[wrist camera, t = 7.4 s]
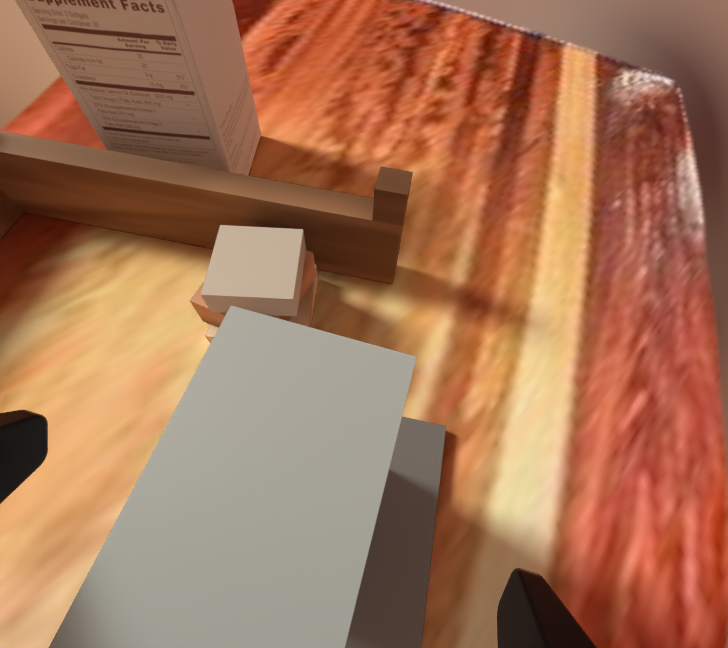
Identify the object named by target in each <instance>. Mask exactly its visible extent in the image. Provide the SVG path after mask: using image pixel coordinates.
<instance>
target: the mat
mask: <svg viewBox="0 0 728 648" xmlns="http://www.w3.org/2000/svg"><path fill="white" fill-rule="evenodd" d="M445 432H446V426H443V425H438V424H434V423H429V422H424V421H420V420H415V419H411V418H406V417H402V418H401V422H400V426H399V430H398V435H397V439H396V443H395V447H394V451H393V455H392V459H391V463H390V467H389V471H388V475H387V479H386V483H385V487H384V491H383V495H382V499H381V503H380V507H379V511H378V515H377V519H376V523H375V527H374V532H373V536H372V540H371V544H370V548H369V552H368V556H367V560H366V564H365V568H364V572H363V576H362V580H361V584H360V588H359V592H358V596H357V600H356V604H355V608H354V612H353V616H352V620H351V624H350V629H349V633H348V637H347V641H346V645H345V648H421V644H422V636H423V627H424V618H425V609H426V600H427V591H428V582H429V574H430V565H431V556H432V547H433V538H434V529H435V520H436V511H437V503H438V494H439V485H440V476H441V467H442V458H443V449H444V440H445Z"/></svg>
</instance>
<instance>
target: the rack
mask: <svg viewBox="0 0 728 648" xmlns="http://www.w3.org/2000/svg"><path fill="white" fill-rule="evenodd" d="M412 173H413V172H409V171H403V170H397V169H392V168H386V167H381V168H380V171H379V175H378V179H377V182H376V186H375V190H374V198H370V197H365V196H359V195H354V194H348V193H343V192H337V191H331V190H326V189H320V188H315V187H309V186H304V185H298V184H293V183H287V182H282V181H276V180H270V179H265V178H259V177H254V176H248V175H243V174H237V173H232V172H226V171H221V170H215V169H210V168H204V167H198V166H193V165H187V164H182V163H176V162H171V161H165V160H160V159H154V158H149V157H143V156H137V155H132V154H126V153H121V152H115V151H110V150H104V149H99V148H93V147H88V146H82V145H76V144H71V143H65V142H60V141H54V140H49V139H43V138H38V137H32V136H27V135H21V134H15V133H10V132H4V131H0V239H1V238H2V237H3V236H4V235H5V234H6V232H7V231H8V230H9V229H10V228H11V226H12V225H13V224H14V223H15V222H16V221H17V219H18V218H19V217H20V216H21V215H22V213H23V212H25V213H31V214H36V215H41V216H46V217H51V218H56V219H61V220H67V221H72V222H77V223H82V224H87V225H92V226H97V227H102V228H108V229H113V230H118V231H123V232H128V233H133V234H138V235H144V236H149V237H154V238H159V239H164V240H169V241H174V242H179V243H185V244H190V245H195V246H200V247H205V248H210V249H214V245H215V242H216V238H217V235H218V231H219V228H220V225H229V226H248V227H268V228H288V229H303V231H304V238H305V245H306V250H307V251H310V252H313V254H314V262H315V264H316V268H317V269H318V270H323V271H328V272H333V273H339V274H344V275H349V276H354V277H359V278H364V279H369V280H375V281H380V282H385V283H390V284H392V283H393V279H394V274H395V269H396V265H397V259H398V253H399V247H400V242H401V236H402V230H403V224H404V219H405V213H406V207H407V201H408V196H409V190H410V184H411V178H412Z"/></svg>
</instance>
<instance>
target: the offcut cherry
mask: <svg viewBox="0 0 728 648" xmlns="http://www.w3.org/2000/svg"><path fill="white" fill-rule="evenodd" d="M315 277H316V270H315V262H314V254H313V252H310V251H307V250H306V254H305V261H304V268H303V276H302V283H301V290H300V298H299V303H300V301H301V300H302V298H303V296H304V295H305V293H306V292H307V290H308V288H309V287H310V285H311V283H312V282H313V280H314V278H315ZM203 285H204V283H203V284H202V285H201V287H200V288H199V289H198V290H197V292H196V293H195V294H194V296H193V297H192V298H191V300H190V302H191V303H192V305H193V307H194V308H195V310H196V311H197V313H198V314H199V316H200V317H201V319H202V320H203V321H204V322H206V323H208V324H211V325H213V326H216V327H218V328H219V327H220V325H221V323H222V321H223V319H224V317H225V316H226V314H227V313H216V312H211V311H210V310H209V308H208V306H207V305H206V303H205V301H204V299H203V298H202V296H201V292H202V288H203ZM268 316H271V317H275V318H278V319H282V320H286V321H289V320H290V318H291V316H277V315H268Z"/></svg>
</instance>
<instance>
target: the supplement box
mask: <svg viewBox="0 0 728 648" xmlns="http://www.w3.org/2000/svg"><path fill="white" fill-rule="evenodd" d="M15 1H16V3H17V5H18V6H19V8H20V9H21V11H22V13H23V14H24V16H25V18H26V19H27V21H28V22H29V24H30V25H31V27H32V29H33V30H34V32H35V33H36V35H37V37H38V39H39V40H40V42H41V44H42V45H43V47H44V48H45V50H46V52H47V53H48V55H49V57H50V58H51V60H52V61H53V63H54V65H55V66H56V68H57V69H58V71H59V73H60V75H61V76H62V78H63V79H64V81H65V83H66V84H67V86H68V87H69V89H70V91H71V92H72V94H73V96H74V97H75V99H76V101H77V102H78V104H79V105H80V107H81V109H82V110H83V112H84V113H85V115H86V117H87V118H88V120H89V122H90V123H91V125H92V126H93V128H94V130H95V131H96V133H97V135H98V136H99V138H100V140H101V141H102V143H103V144H104V146H105V147H106V149H107V150H110V151H115V152H121V153H126V154H132V155H137V156H143V157H149V158H154V159H160V160H165V161H171V162H176V163H182V164H187V165H193V166H198V167H204V168H210V169H215V170H221V171H226V172H232V173H237V174H243V175H249V171H250V168H251V165H252V162H253V159H254V155H255V152H256V149H257V146H258V143H259V139H260V136H261V131H260V127H259V122H258V117H257V112H256V108H255V103H254V99H253V94H252V90H251V85H250V81H249V76H248V71H247V67H246V62H245V57H244V53H243V48H242V44H241V39H240V34H239V30H238V25H237V21H236V16H235V11H234V7H233V2H232V0H15Z"/></svg>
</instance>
